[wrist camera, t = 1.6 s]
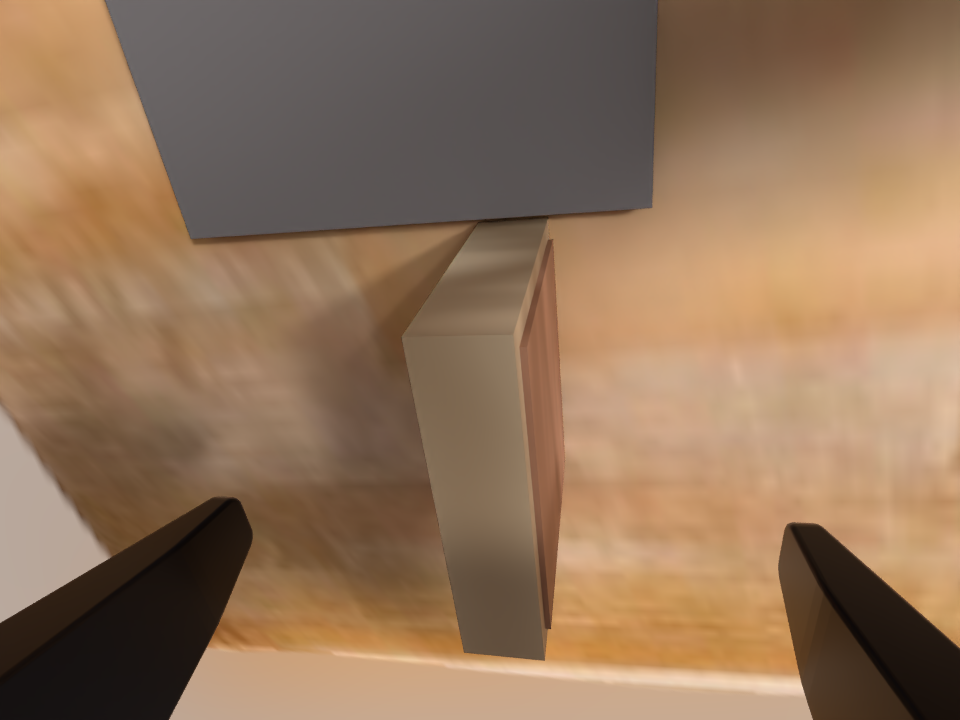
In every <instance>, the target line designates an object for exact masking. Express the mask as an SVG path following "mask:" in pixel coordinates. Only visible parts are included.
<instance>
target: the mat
mask: <svg viewBox="0 0 960 720" xmlns="http://www.w3.org/2000/svg"><path fill="white" fill-rule="evenodd" d="M105 2H106V4H107V7H108V10H109V13H110V16H111V18H112V21H113V24H114V27H115V29H116V32H117V35H118V38H119V41H120V43H121V46H122V49H123V52H124V54H125V57H126V60H127V63H128V66H129V68H130V71H131V74H132V77H133V79H134V82H135V85H136V88H137V91H138V93H139V96H140V99H141V102H142V104H143V107H144V110H145V113H146V116H147V118H148V121H149V124H150V127H151V130H152V132H153V135H154V138H155V141H156V143H157V146H158V149H159V152H160V155H161V157H162V160H163V163H164V166H165V168H166V171H167V174H168V177H169V180H170V182H171V185H172V188H173V191H174V193H175V196H176V199H177V202H178V205H179V207H180V210H181V213H182V216H183V218H184V221H185V224H186V227H187V230H188V232H189V235H190V238H191V239H198V238H213V237H228V236H242V235H257V234H272V233H287V232H302V231H317V230H332V229H346V228H361V227H376V226H391V225H406V224H421V223H435V222H450V221H465V220H480V219H495V218H510V217H525V216H539V215H554V214H569V213H584V212H599V211H614V210H629V209H643V208H652V193H653V156H654V120H655V84H656V48H657V11H658V0H105Z"/></svg>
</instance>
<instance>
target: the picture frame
mask: <svg viewBox="0 0 960 720" xmlns="http://www.w3.org/2000/svg"><path fill="white" fill-rule="evenodd" d="M401 338H402V343H403V348H404V353H405V358H406V363H407V368H408V373H409V378H410V383H411V388H412V393H413V398H414V403H415V409H416V414H417V419H418V424H419V429H420V434H421V439H422V444H423V449H424V454H425V459H426V464H427V469H428V474H429V479H430V484H431V489H432V494H433V499H434V504H435V509H436V514H437V519H438V524H439V529H440V534H441V539H442V544H443V549H444V554H445V559H446V564H447V569H448V574H449V579H450V584H451V589H452V594H453V599H454V604H455V609H456V614H457V619H458V624H459V629H460V634H461V639H462V644H463V649H464V653H474V654H484V655H493V656H503V657H513V658H523V659H533V660H543V661H545V652H546V641H547V630H548V629H551V622H552V610H553V598H554V586H555V574H556V562H557V551H558V539H559V527H560V515H561V503H562V491H563V480H564V468H565V450H564V431H563V413H562V395H561V377H560V359H559V341H558V323H557V305H556V287H555V268H554V250H553V239H551V240H549V223H548V218H534V219H519V220H504V221H489V222H479V223H478V224H477V226H476V227H475V229H474V230H473V232H472V233H471V234H470V236H469V237H468V239H467V240H466V242H465V243H464V245H463V246H462V248H461V249H460V251H459V252H458V254H457V255H456V257H455V258H454V260H453V261H452V263H451V264H450V266H449V267H448V269H447V270H446V272H445V273H444V274H443V276H442V277H441V279H440V280H439V282H438V283H437V285H436V286H435V288H434V289H433V291H432V292H431V294H430V295H429V297H428V298H427V300H426V301H425V303H424V304H423V306H422V307H421V309H420V310H419V311H418V313H417V314H416V316H415V317H414V319H413V320H412V322H411V323H410V325H409V326H408V328H407V329H406V331H405V332H404V334H403V335H402V337H401Z"/></svg>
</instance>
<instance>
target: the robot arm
mask: <svg viewBox="0 0 960 720" xmlns="http://www.w3.org/2000/svg"><path fill="white" fill-rule="evenodd" d="M252 538H253V533H252V528H251V526H250V524H249V521H248V519H247V516H246V514H245V511H244V509H243V507H242V504H241V502H240V501H239V500H238V499H237V498H234V497H214V498H211V499H210V500H208V501H206V502H205V503H203V504H201V505H199V506H198V507H196V508H194V509H193V510H191V511H189V512H188V513H186V514H184V515H182V516H181V517H179V518H177V519H176V520H174V521H172V522H171V523H169V524H167V525H166V526H164V527H162V528H160V529H159V530H157V531H155V532H154V533H152V534H150V535H149V536H147V537H145V538H144V539H142V540H140V541H138V542H137V543H135V544H133V545H132V546H130V547H128V548H127V549H125V550H123V551H121V552H120V553H118V554H116V555H115V556H113V557H111V558H110V559H108V560H106V561H105V562H103V563H101V564H99V565H98V566H96V567H94V568H93V569H91V570H89V571H88V572H86V573H84V574H83V575H81V576H79V577H78V578H76V579H74V580H72V581H71V582H69V583H67V584H66V585H64V586H63V587H60V588H59V589H57V590H55V591H54V592H52V593H50V594H49V595H47V596H45V597H44V598H42V599H40V600H38V601H37V602H35V603H33V604H32V605H30V606H28V607H27V608H25V609H23V610H22V611H20V612H18V613H17V614H15V615H13V616H12V617H10V618H8V619H6V620H5V621H3V622H1V623H0V720H169V719H170V717H171V715H172V713H173V710H174V709H175V707H176V705H177V703H178V701H179V699H180V697H181V695H182V694H183V692H184V690H185V688H186V686H187V684H188V682H189V680H190V678H191V676H192V674H193V673H194V670H195V669H196V667H197V665H198V663H199V661H200V659H201V657H202V655H203V653H204V651H205V650H206V648H207V646H208V644H209V642H210V640H211V638H212V636H213V634H214V632H215V630H216V628H217V626H218V624H219V621H220V619H221V617H222V615H223V612H224V610H225V608H226V605H227V603H228V600H229V598H230V595H231V593H232V591H233V588H234V586H235V583H236V581H237V578H238V576H239V573H240V571H241V569H242V566H243V564H244V561H245V559H246V556H247V554H248V551H249V549H250V547H251V544H252ZM778 570H779V579H780V584H781V589H782V593H783V598H784V603H785V608H786V613H787V617H788V622H789V627H790V632H791V636H792V641H793V646H794V651H795V656H796V660H797V665H798V669H799V674H800V678H801V683H802V686H803V689H804V693H805V696H806V699H807V703H808V706H809V709H810V712H811V715H812V718H813V720H960V648H959V647H958V646H957V645H956V644H955V643H953V642H952V641H951V640H950V639H949V638H948V637H947V636H945V635H944V634H943V633H942V632H941V631H940V630H939V629H938V628H936V627H935V626H934V625H933V624H932V623H931V622H930V621H929V620H927V619H926V618H925V617H924V616H923V615H922V614H921V613H919V612H918V611H917V610H916V609H915V608H914V607H913V606H912V605H910V604H909V603H908V602H907V601H906V600H905V599H904V598H902V597H901V596H900V595H899V594H898V593H897V592H896V591H895V590H893V589H892V588H891V587H890V586H889V585H888V584H887V583H886V582H884V581H883V580H882V579H881V578H880V577H879V576H878V575H876V574H875V573H874V572H873V571H872V570H871V569H870V568H869V567H867V566H866V565H865V564H864V563H863V562H862V561H861V560H859V559H858V558H857V557H856V556H855V555H854V554H853V553H852V552H850V551H849V550H848V549H847V548H846V547H845V546H844V545H842V544H841V543H840V542H839V541H838V540H837V539H836V538H835V537H833V536H832V535H831V534H830V533H829V532H828V531H827V530H826V529H824V528H823V527H822V526H820V525H818V524H815V523H795V522H792V523H789V524H787V526H786V528H785V530H784V535H783V541H782V546H781V552H780V557H779V564H778Z"/></svg>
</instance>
